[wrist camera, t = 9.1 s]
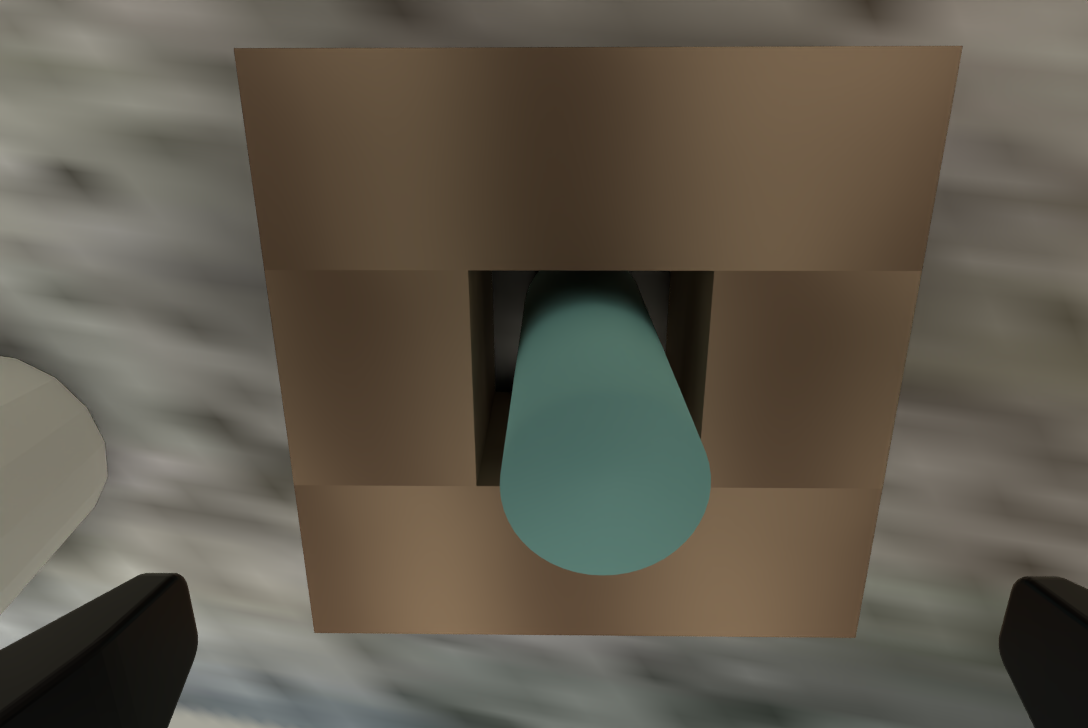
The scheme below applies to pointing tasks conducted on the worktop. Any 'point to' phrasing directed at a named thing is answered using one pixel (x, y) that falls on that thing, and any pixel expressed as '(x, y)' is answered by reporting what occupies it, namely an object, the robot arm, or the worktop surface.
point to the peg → (598, 431)
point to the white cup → (42, 471)
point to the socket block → (592, 245)
